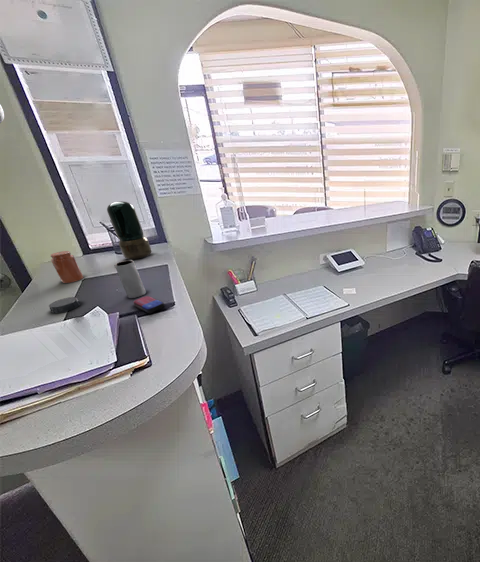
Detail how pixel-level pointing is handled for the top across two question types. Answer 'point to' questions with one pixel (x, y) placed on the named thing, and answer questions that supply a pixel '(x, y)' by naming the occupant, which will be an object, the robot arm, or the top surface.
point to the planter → (130, 278)
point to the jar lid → (64, 305)
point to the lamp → (128, 230)
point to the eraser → (148, 304)
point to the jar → (66, 267)
